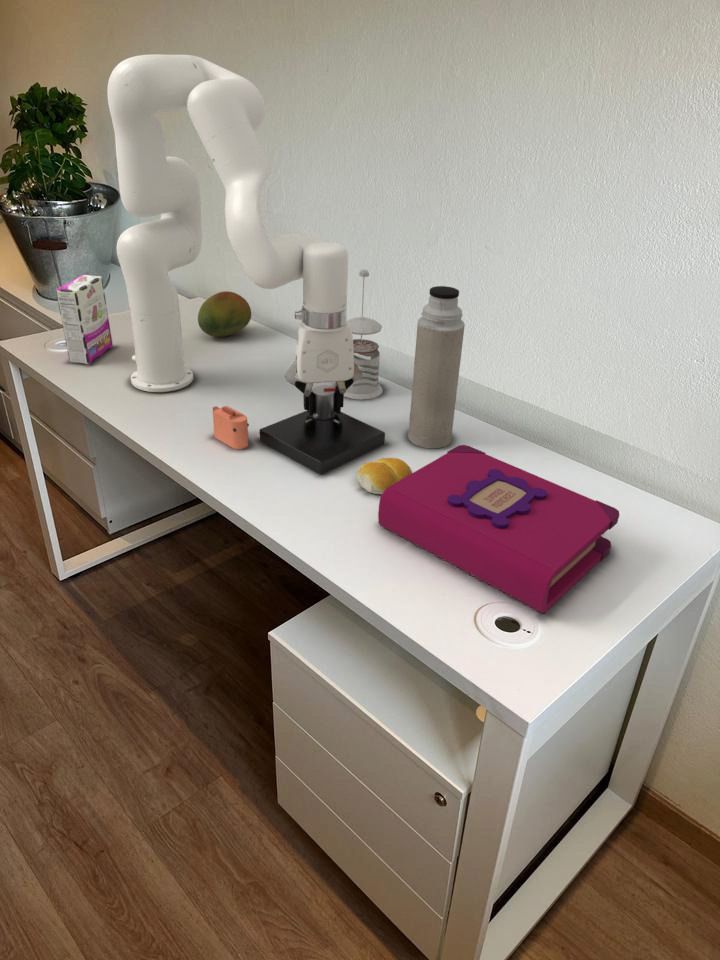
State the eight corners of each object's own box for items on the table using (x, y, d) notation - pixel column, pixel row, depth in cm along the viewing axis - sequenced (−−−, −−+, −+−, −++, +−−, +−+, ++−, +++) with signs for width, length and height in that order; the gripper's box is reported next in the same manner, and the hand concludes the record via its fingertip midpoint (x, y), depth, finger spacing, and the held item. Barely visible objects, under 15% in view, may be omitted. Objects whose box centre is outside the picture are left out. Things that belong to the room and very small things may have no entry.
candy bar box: (93, 344, 169) (82, 273, 161) (113, 347, 169) (103, 275, 160) (67, 363, 160) (54, 288, 151) (88, 365, 159) (76, 290, 151)
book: (539, 619, 95) (550, 573, 91) (376, 530, 111) (379, 487, 107) (612, 550, 109) (624, 507, 105) (458, 479, 124) (463, 439, 121)
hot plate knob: (313, 420, 135) (314, 394, 133) (309, 410, 139) (309, 384, 136) (337, 419, 136) (338, 392, 134) (332, 408, 140) (332, 383, 137)
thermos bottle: (417, 424, 141) (430, 279, 127) (456, 434, 139) (474, 286, 124) (401, 442, 135) (413, 291, 121) (442, 452, 132) (459, 299, 118)
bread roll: (421, 486, 122) (423, 465, 120) (376, 501, 118) (377, 480, 116) (392, 464, 128) (394, 444, 126) (348, 477, 124) (349, 457, 122)
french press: (391, 395, 152) (399, 274, 139) (340, 404, 148) (343, 280, 135) (369, 377, 160) (375, 260, 147) (320, 385, 155) (321, 265, 142)
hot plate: (256, 439, 134) (256, 426, 132) (323, 412, 144) (324, 400, 143) (320, 475, 124) (320, 461, 123) (387, 443, 135) (388, 430, 133)
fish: (208, 434, 135) (206, 404, 132) (223, 428, 137) (221, 398, 134) (237, 451, 130) (235, 420, 127) (252, 445, 132) (251, 414, 129)
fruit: (257, 330, 182) (256, 290, 177) (235, 347, 171) (233, 305, 166) (215, 323, 185) (212, 284, 179) (190, 340, 174) (186, 298, 169)
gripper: (279, 326, 123) (281, 424, 132) (377, 322, 127) (372, 417, 136) (273, 312, 129) (275, 406, 139) (366, 307, 133) (362, 400, 142)
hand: (323, 410), depth 137 cm, fingers closed on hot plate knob, 4 cm apart
